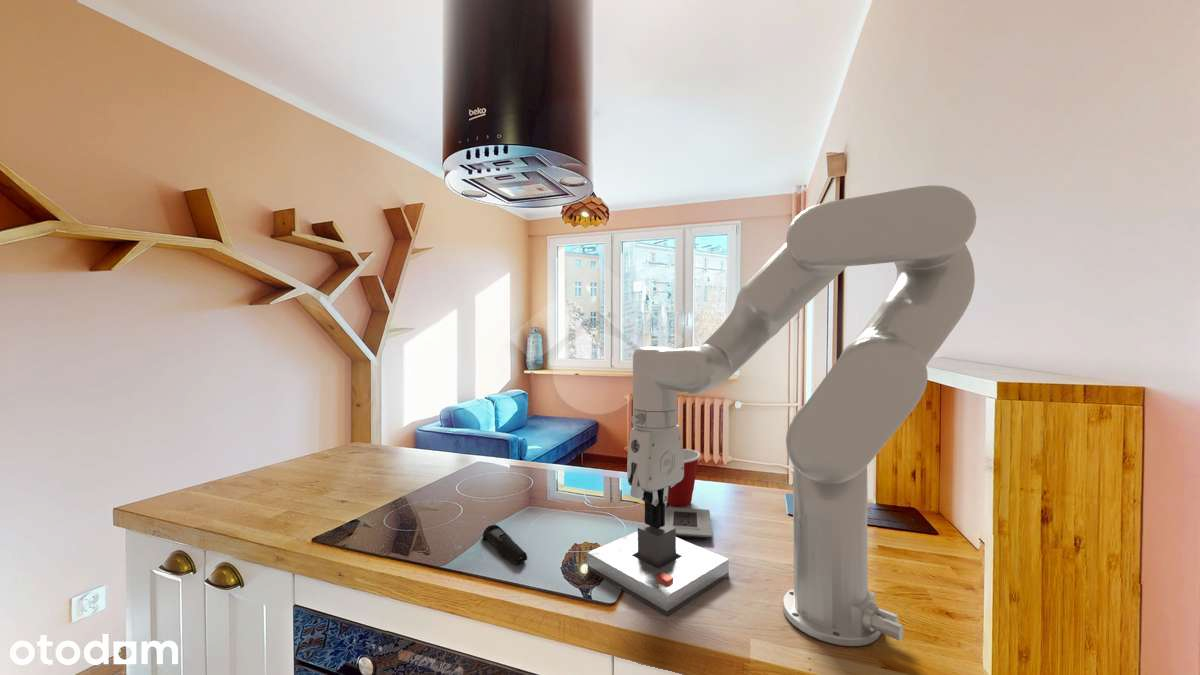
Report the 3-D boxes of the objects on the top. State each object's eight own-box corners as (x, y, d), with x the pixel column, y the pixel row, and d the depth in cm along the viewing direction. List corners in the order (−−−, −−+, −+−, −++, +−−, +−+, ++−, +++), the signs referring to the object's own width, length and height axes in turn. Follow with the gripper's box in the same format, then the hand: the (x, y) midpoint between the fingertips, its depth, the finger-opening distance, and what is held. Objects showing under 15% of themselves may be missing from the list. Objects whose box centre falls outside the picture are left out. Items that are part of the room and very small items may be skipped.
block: (676, 568, 78) (675, 528, 78) (658, 578, 75) (658, 536, 75) (655, 558, 82) (655, 520, 82) (638, 568, 79) (637, 527, 78)
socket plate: (728, 576, 77) (728, 555, 77) (666, 616, 66) (666, 592, 66) (649, 540, 90) (649, 522, 90) (587, 569, 80) (587, 548, 80)
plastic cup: (651, 495, 115) (650, 448, 115) (692, 493, 116) (692, 446, 116) (661, 512, 104) (660, 460, 104) (707, 510, 106) (706, 458, 106)
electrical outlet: (712, 546, 89) (712, 534, 89) (658, 542, 91) (658, 530, 91) (709, 519, 102) (709, 508, 102) (661, 516, 104) (661, 505, 104)
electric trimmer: (512, 573, 80) (512, 555, 80) (480, 539, 93) (480, 524, 93) (532, 566, 82) (532, 549, 82) (498, 534, 95) (498, 519, 95)
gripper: (640, 428, 70) (640, 546, 71) (699, 416, 80) (699, 519, 81) (607, 421, 76) (607, 530, 76) (666, 410, 86) (666, 507, 86)
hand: (654, 524), depth 78 cm, fingers closed
